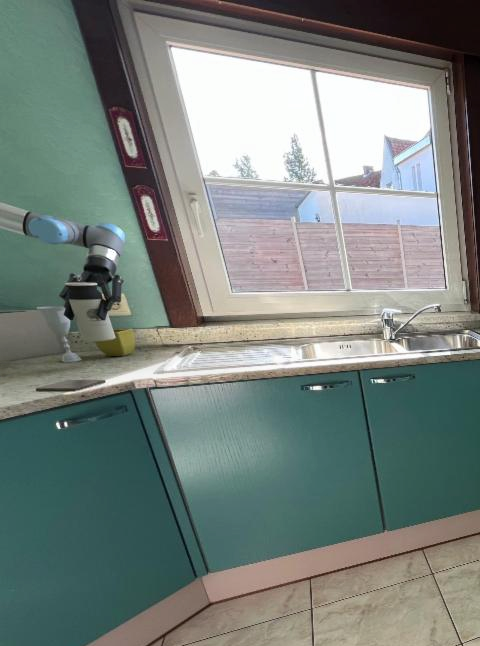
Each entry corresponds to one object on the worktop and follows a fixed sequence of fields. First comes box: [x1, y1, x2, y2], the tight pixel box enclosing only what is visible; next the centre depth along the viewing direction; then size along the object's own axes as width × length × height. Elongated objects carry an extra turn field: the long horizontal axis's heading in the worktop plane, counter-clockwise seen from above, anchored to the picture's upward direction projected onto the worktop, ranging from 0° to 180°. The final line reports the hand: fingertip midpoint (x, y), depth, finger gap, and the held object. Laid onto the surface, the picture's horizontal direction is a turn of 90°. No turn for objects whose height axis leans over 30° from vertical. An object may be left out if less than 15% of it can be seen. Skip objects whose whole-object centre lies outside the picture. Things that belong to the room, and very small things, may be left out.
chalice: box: [36, 305, 83, 363], centre depth 168 cm, size 7×7×18 cm
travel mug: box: [64, 282, 116, 342], centre depth 161 cm, size 8×8×18 cm
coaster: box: [35, 379, 106, 392], centre depth 141 cm, size 10×10×1 cm
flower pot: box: [93, 328, 136, 357], centre depth 179 cm, size 9×9×9 cm
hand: (84, 317), depth 158 cm, fingers closed on travel mug, 8 cm apart
